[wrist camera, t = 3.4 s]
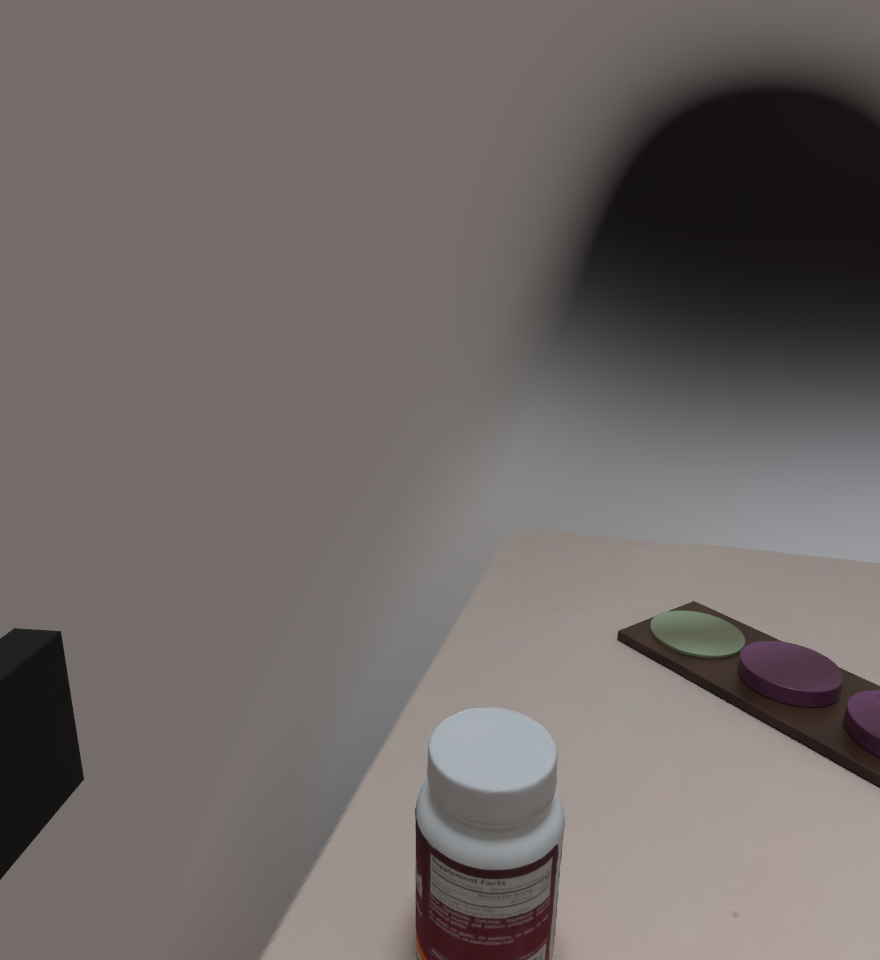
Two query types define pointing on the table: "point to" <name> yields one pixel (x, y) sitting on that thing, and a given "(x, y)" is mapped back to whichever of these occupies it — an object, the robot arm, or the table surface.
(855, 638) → the table surface
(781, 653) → the board
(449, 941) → the pill bottle
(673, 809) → the table surface
